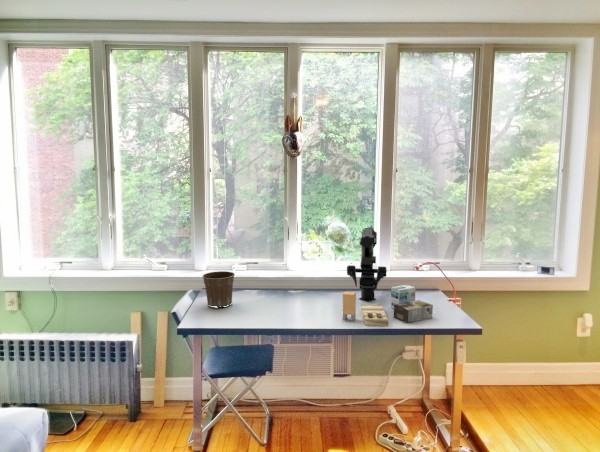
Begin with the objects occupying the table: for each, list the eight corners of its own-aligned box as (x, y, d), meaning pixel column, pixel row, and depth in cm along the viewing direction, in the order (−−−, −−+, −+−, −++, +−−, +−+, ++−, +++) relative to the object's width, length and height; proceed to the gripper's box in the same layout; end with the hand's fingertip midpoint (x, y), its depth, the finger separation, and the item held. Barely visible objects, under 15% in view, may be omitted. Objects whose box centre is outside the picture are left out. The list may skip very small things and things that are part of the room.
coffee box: (418, 312, 207) (392, 317, 199) (419, 299, 206) (393, 304, 199) (432, 317, 199) (406, 323, 192) (433, 304, 198) (407, 309, 191)
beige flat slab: (360, 309, 211) (360, 304, 211) (381, 310, 211) (381, 305, 210) (365, 325, 189) (365, 320, 189) (387, 325, 189) (387, 320, 188)
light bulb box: (399, 311, 209) (399, 290, 207) (390, 307, 214) (390, 286, 213) (415, 308, 213) (416, 287, 212) (406, 304, 219) (407, 284, 218)
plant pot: (196, 307, 215) (195, 276, 214) (214, 299, 230) (213, 270, 228) (224, 311, 209) (223, 279, 207) (241, 302, 224) (240, 272, 222)
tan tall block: (345, 317, 200) (345, 291, 199) (355, 318, 198) (355, 292, 197) (342, 320, 196) (342, 293, 195) (353, 321, 194) (353, 294, 193)
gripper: (347, 249, 204) (345, 278, 196) (386, 250, 201) (386, 280, 192) (348, 260, 213) (346, 289, 205) (386, 261, 210) (386, 290, 201)
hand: (366, 287), depth 201 cm, fingers open, 9 cm apart
